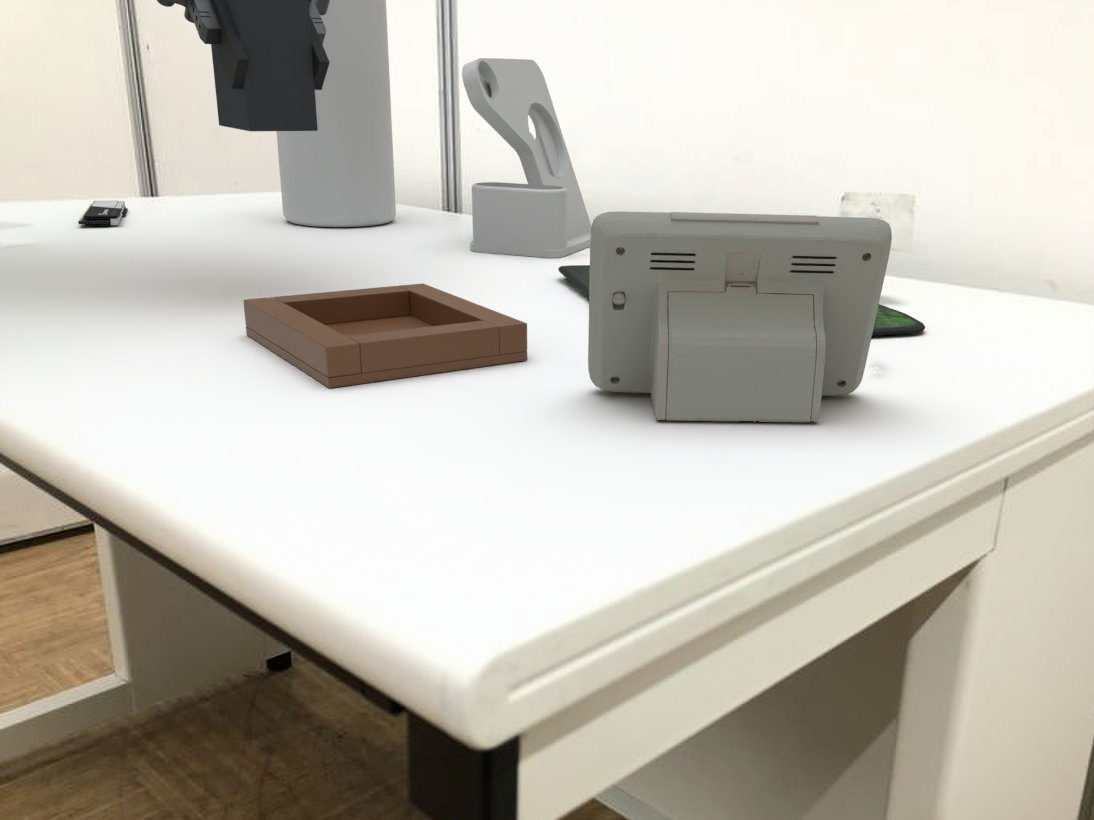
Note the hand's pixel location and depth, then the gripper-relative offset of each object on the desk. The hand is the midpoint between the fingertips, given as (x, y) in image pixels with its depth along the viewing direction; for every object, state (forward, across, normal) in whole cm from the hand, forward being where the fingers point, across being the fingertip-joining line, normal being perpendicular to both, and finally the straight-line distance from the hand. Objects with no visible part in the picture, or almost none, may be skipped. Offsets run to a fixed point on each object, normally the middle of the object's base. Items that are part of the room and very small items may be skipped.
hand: (281, 74), depth 78 cm
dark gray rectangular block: (0, 0, -5) cm, 5 cm away
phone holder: (-1, -33, -25) cm, 41 cm away
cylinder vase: (-18, -21, -42) cm, 50 cm away
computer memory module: (-27, +2, -50) cm, 57 cm away
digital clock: (+37, -11, +14) cm, 42 cm away
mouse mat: (+22, -30, -1) cm, 37 cm away
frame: (+22, 0, -1) cm, 22 cm away
